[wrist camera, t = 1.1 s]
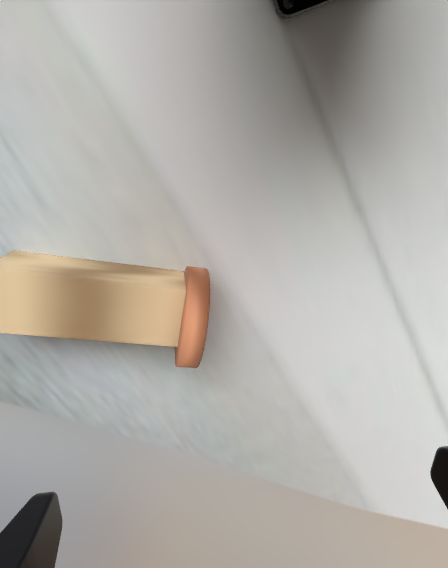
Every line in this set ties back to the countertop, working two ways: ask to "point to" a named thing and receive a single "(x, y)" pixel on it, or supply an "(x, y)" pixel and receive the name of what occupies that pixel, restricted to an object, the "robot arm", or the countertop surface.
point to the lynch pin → (105, 302)
